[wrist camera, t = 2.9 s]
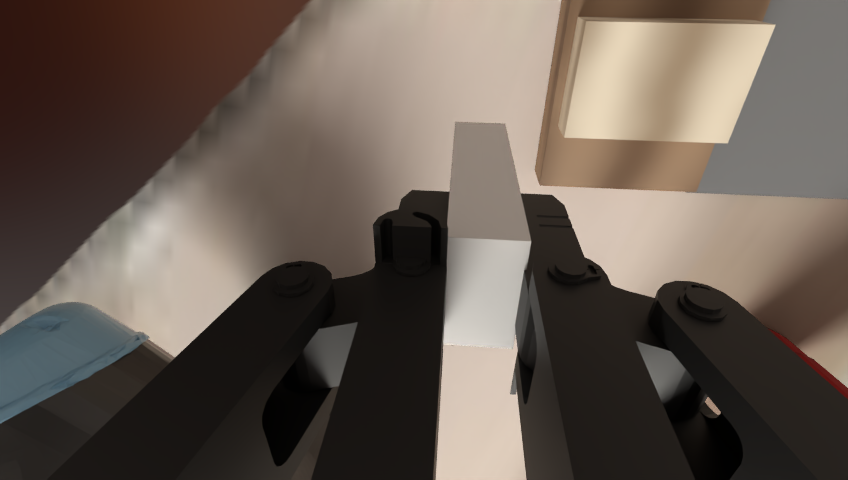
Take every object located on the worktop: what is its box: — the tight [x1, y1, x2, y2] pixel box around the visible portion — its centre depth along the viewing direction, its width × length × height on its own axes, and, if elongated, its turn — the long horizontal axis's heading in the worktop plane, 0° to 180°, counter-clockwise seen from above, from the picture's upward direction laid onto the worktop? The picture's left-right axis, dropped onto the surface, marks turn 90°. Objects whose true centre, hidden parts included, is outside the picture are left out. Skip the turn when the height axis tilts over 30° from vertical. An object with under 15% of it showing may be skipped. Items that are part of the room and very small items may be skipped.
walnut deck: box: [535, 0, 771, 192], centre depth 26 cm, size 10×14×2 cm
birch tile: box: [558, 17, 775, 143], centre depth 24 cm, size 9×6×2 cm, turn 90°
